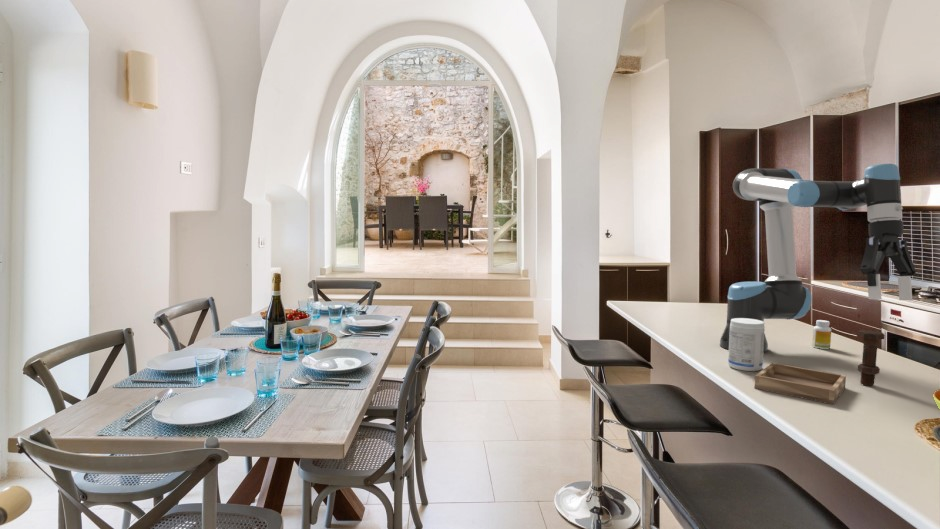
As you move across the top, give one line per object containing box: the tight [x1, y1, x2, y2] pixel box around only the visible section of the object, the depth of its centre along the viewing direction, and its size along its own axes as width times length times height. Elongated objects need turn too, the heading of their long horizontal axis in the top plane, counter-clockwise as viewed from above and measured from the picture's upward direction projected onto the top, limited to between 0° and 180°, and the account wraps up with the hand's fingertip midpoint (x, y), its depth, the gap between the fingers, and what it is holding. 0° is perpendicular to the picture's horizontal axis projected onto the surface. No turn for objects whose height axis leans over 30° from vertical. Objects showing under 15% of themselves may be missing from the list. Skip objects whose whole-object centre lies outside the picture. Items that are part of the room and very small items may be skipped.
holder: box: [753, 362, 847, 405], centre depth 147 cm, size 18×18×4 cm
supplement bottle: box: [811, 319, 832, 350], centre depth 193 cm, size 5×5×10 cm
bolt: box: [856, 329, 885, 387], centre depth 150 cm, size 6×5×15 cm
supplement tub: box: [727, 318, 765, 372], centre depth 166 cm, size 10×10×15 cm
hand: (890, 299), depth 145 cm, fingers open, 13 cm apart
